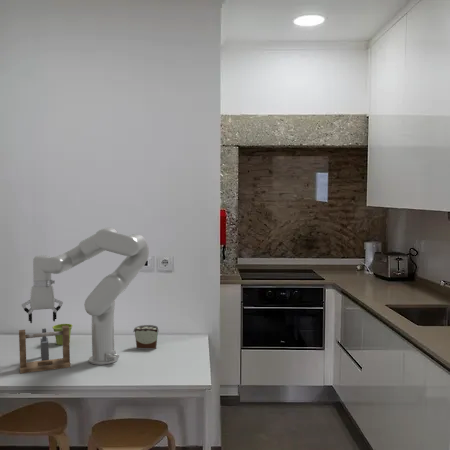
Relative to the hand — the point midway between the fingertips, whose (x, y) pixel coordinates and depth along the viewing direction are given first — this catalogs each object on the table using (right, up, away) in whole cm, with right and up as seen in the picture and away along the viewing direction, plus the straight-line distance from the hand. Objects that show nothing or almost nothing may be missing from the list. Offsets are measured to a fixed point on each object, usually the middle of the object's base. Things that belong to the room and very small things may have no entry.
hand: (42, 321), depth 236 cm
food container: (+44, -16, +19) cm, 50 cm away
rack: (+4, -18, -9) cm, 20 cm away
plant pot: (+2, -15, +25) cm, 29 cm away
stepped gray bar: (+1, -17, +1) cm, 17 cm away
